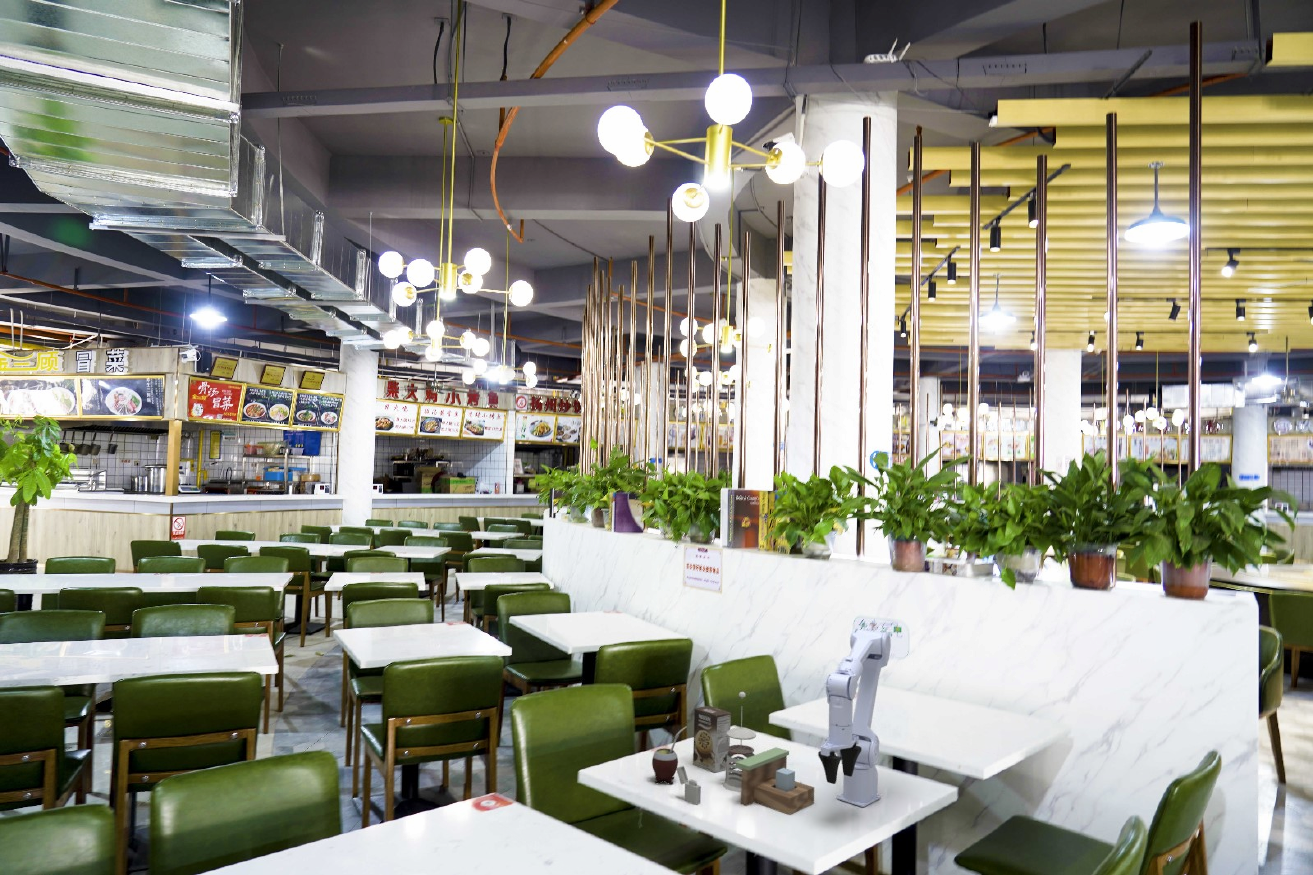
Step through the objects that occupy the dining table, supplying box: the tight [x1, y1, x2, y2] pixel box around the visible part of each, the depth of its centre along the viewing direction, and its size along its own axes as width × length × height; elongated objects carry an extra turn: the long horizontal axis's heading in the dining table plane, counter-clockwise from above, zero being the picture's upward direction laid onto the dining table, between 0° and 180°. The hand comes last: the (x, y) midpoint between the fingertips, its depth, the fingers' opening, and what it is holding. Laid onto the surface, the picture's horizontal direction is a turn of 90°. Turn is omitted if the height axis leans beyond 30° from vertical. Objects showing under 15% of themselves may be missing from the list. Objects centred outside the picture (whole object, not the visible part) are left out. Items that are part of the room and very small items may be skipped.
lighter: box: [676, 765, 702, 806], centre depth 213 cm, size 7×2×8 cm, turn 48°
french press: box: [716, 691, 757, 793], centre depth 226 cm, size 10×12×25 cm
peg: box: [776, 767, 796, 792], centre depth 213 cm, size 4×4×7 cm
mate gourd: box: [651, 725, 687, 785], centre depth 227 cm, size 8×8×15 cm
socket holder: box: [735, 746, 815, 816], centre depth 215 cm, size 18×14×10 cm
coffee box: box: [692, 705, 732, 774], centre depth 239 cm, size 9×6×16 cm
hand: (839, 779), depth 205 cm, fingers open, 7 cm apart
